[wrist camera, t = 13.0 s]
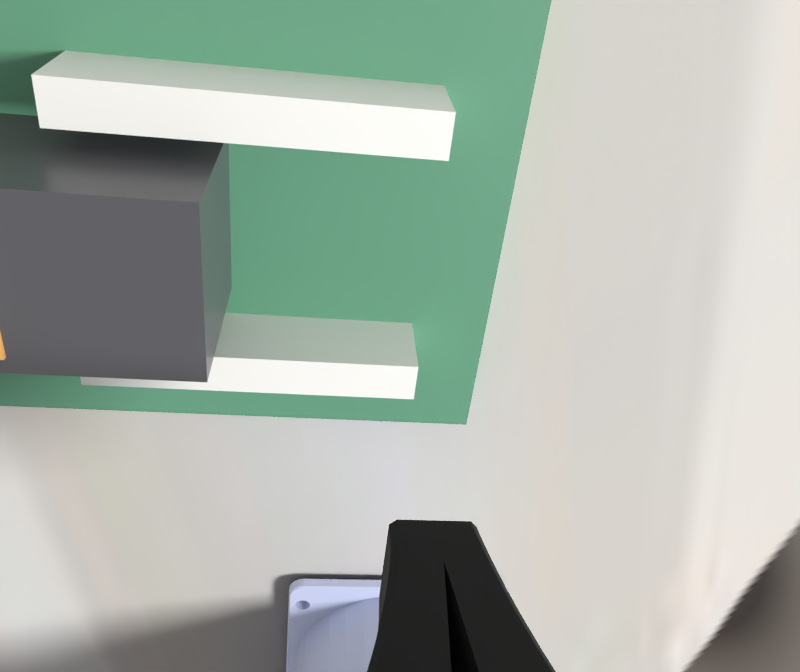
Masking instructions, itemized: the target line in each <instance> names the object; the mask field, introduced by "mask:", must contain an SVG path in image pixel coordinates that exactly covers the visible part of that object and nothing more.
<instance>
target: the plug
mask: <svg viewBox="0 0 800 672" xmlns="http://www.w3.org/2000/svg"><path fill="white" fill-rule="evenodd" d="M231 288H232V279H231V232H230V185H229V143H219V142H207V141H195V140H182V139H170V138H158V137H145V136H133V135H121V134H108V133H96V132H84V131H71V130H59V129H47V128H40V126H39V120H38V116H32V115H20V114H8V113H0V373H10V374H33V375H55V376H77V377H99V378H121V379H143V380H165V381H187V382H207V381H208V377H209V374H210V370H211V366H212V362H213V358H214V354H215V350H216V346H217V342H218V339H219V335H220V331H221V327H222V323H223V319H224V315H225V311H226V308H227V304H228V300H229V296H230V292H231Z"/></svg>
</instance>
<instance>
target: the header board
mask: <svg viewBox="0 0 800 672" xmlns="http://www.w3.org/2000/svg"><path fill="white" fill-rule="evenodd" d="M550 4H551V0H0V113H8V114H20V115H32V116H38V120H39V126H40V128H47V129H59V130H71V131H84V132H96V133H108V134H121V135H133V136H145V137H158V138H170V139H182V140H195V141H207V142H219V143H229V185H230V232H231V279H232V288H231V292H230V296H229V300H228V304H227V308H226V311H225V315H224V319H223V323H222V327H221V331H220V335H219V339H218V342H217V346H216V350H215V354H214V358H213V362H212V366H211V370H210V374H209V377H208V381H207V382H187V381H165V380H143V379H121V378H99V377H77V376H55V375H33V374H10V373H0V406H23V407H48V408H73V409H97V410H122V411H147V412H172V413H197V414H221V415H246V416H271V417H296V418H321V419H345V420H370V421H395V422H420V423H445V424H466V422H467V417H468V412H469V407H470V402H471V398H472V393H473V388H474V383H475V378H476V373H477V368H478V363H479V358H480V353H481V348H482V343H483V338H484V333H485V328H486V323H487V318H488V313H489V308H490V303H491V298H492V293H493V288H494V283H495V278H496V273H497V268H498V263H499V258H500V253H501V248H502V243H503V238H504V233H505V228H506V223H507V218H508V213H509V208H510V203H511V198H512V194H513V189H514V184H515V179H516V174H517V169H518V164H519V159H520V154H521V149H522V144H523V139H524V134H525V129H526V124H527V119H528V114H529V109H530V104H531V99H532V94H533V89H534V84H535V79H536V74H537V69H538V64H539V59H540V54H541V49H542V44H543V39H544V34H545V29H546V24H547V19H548V14H549V9H550Z"/></svg>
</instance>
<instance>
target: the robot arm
mask: <svg viewBox="0 0 800 672" xmlns="http://www.w3.org/2000/svg"><path fill="white" fill-rule="evenodd" d="M302 600H303V601H302ZM286 672H555V670H554V669H553V667H552V665H551V664H550V662H549V661H548V659H547V657H546V656H545V654H544V653H543V651H542V650H541V648H540V646H539V645H538V643H537V641H536V639H535V638H534V636H533V634H532V633H531V631H530V629H529V628H528V626H527V624H526V623H525V621H524V619H523V617H522V616H521V614H520V612H519V611H518V609H517V607H516V605H515V603H514V602H513V600H512V598H511V596H510V594H509V593H508V588H507V586H506V585H505V584H504V583H503V581H502V579H501V577H500V576H499V574H498V572H497V570H496V568H495V566H494V564H493V562H492V560H491V558H490V556H489V554H488V552H487V549H486V547H485V545H484V543H483V541H482V539H481V536H480V534H479V532H478V530H477V527H476V526H475V525H474V524H473V523H472V522H465V521H425V520H396V521H394V522H393V523H391V524H389V530H388V537H387V544H386V551H385V558H384V565H383V573H382V580H356V579H298V580H296V581H294V582H293V583H291V584H290V587H289V603H288V630H287V657H286Z"/></svg>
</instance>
